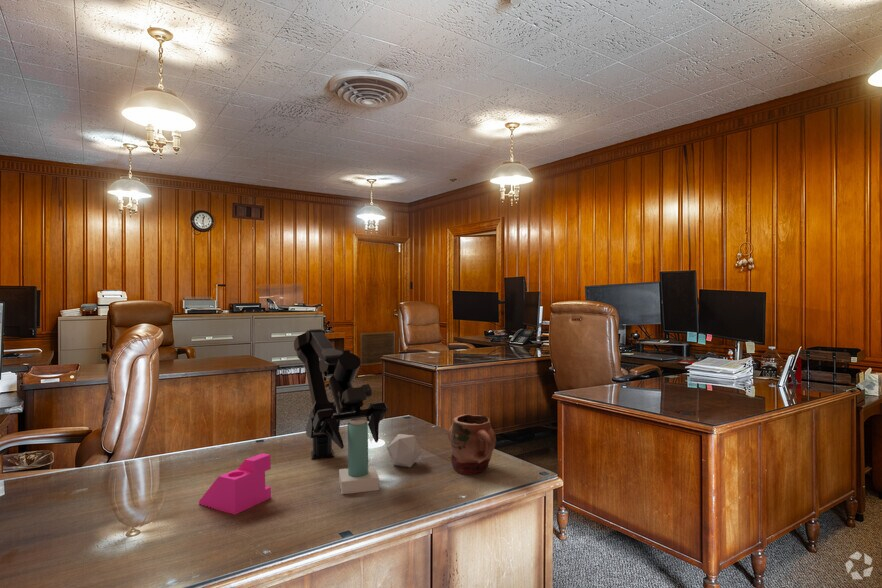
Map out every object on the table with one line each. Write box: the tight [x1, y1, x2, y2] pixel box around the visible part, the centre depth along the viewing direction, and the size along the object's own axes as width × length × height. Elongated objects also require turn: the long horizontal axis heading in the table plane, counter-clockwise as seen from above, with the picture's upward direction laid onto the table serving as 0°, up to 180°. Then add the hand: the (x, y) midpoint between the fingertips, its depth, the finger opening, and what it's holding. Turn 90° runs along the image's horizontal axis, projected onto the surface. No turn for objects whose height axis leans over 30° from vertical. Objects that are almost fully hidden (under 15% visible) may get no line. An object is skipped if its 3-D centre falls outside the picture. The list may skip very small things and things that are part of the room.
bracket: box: [198, 452, 272, 515], centre depth 118 cm, size 12×10×10 cm
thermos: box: [347, 417, 369, 477], centre depth 126 cm, size 5×5×13 cm
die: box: [386, 433, 422, 468], centre depth 141 cm, size 8×9×10 cm
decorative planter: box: [447, 413, 497, 475], centre depth 136 cm, size 20×12×14 cm, turn 29°
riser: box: [338, 465, 380, 495], centre depth 126 cm, size 9×9×3 cm
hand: (360, 444), depth 125 cm, fingers open, 9 cm apart
